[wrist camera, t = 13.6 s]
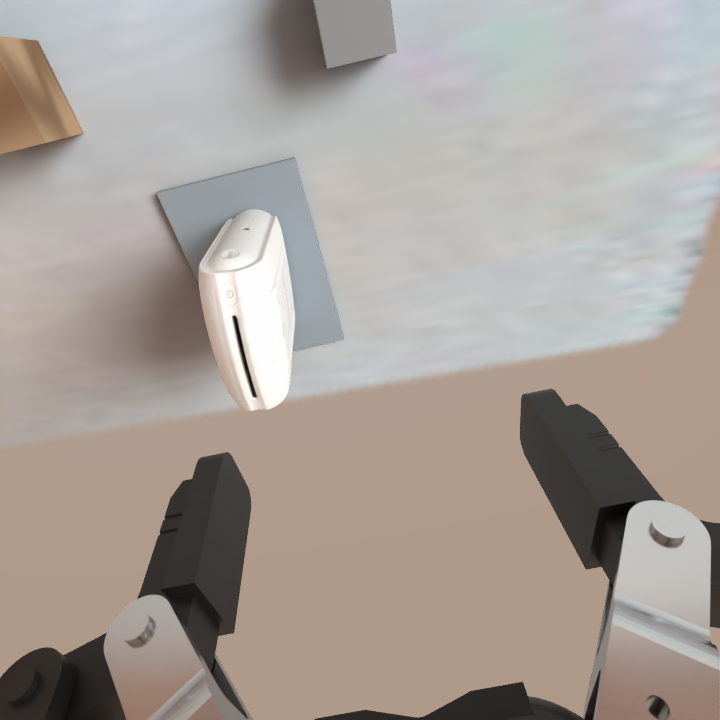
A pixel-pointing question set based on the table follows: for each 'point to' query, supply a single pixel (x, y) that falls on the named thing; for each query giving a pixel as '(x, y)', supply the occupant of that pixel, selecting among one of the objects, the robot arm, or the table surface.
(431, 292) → the table surface
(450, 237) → the table surface
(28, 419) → the table surface
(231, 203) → the slate mat
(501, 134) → the table surface
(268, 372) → the photo printer
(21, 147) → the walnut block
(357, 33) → the gray block
